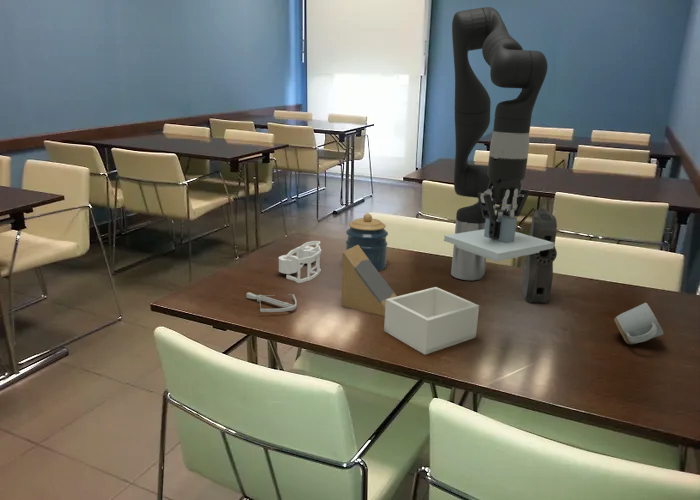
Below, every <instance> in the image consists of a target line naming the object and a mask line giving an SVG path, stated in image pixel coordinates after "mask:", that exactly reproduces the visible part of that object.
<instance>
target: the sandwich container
mask: <svg viewBox="0 0 700 500" xmlns="http://www.w3.org/2000/svg"><path fill="white" fill-rule="evenodd" d="M341 260H342V261H341V262H342V263H341V266H342V268H341V270H342V271H341V299H340V301H341V302H340V303H341V305H340V306H341V307H343V308H347V309H351V310H357V311H361V312H365V313H370V314H374V315H378V316H382V317H385V306H386V299H389V298H393V297H397V294H396V293H395V292H394V290H393V289H392V287H390V285H389V284H388V282H387V281H386V280H385V278H383V276H382V275H381V273H380V271H377V269H376V268H375V267H374V265H373V264H372V263H371V261H370V260H369V259H368V257H367V256H366V255H365V253H364V252H363V250H362V249H361V248H360V246H359V245H356V246H354V247H352V248H350V249H348V250H346V249H345V250H344V251H342V259H341Z"/></svg>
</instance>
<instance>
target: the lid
mask: <svg viewBox="0 0 700 500" xmlns="http://www.w3.org/2000/svg"><path fill="white" fill-rule="evenodd" d="M496 214H497V212H495V215H496ZM517 220H518V219H517V218H516V217H510V216H506V215H502V218H501V221H500V222H501V226H500V234H499V239H492V238H490V237H489V225H490V220H489V219H487V218H486V222H485V229H482V230H476V231H470V232H463V233H457V234H455V233H451V234H445V235H444V238H443V241H444V242H447V243H449V244H451V245H453V246H454V245H456V247H457V248H460V249H462V250H465V251H468V252H471V253H474V254H477V255H480V256H482V257H485V258H486V259H488V260H491V261H493V262H500V261H505V260H506V261H507V260H511V259H514V258H519V257H524V256H525V257H526V255H530V254H535V253H539V251H542V250H547V249H552V248H554V243H553V242H550V241H546V240H543V239H539V238H536V237H532V236H529V235H530V234H529V235H528V234H525V233H521V232H519V231H516V228H517Z"/></svg>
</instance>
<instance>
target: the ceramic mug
mask: <svg viewBox="0 0 700 500" xmlns="http://www.w3.org/2000/svg"><path fill="white" fill-rule="evenodd" d="M613 321H614V323H615V324H616V327H617V328H618V331H619V332H620V334H621V336H622V338H623V340H624V342H625V343H626V344H627V345H636V344H638V343H644V342H647V341H649V340H651V339H654V338H657V337H660V336H662V335H664V331H663V328H662V327H661V325H660V323H659V322H658V319H657V317H656V316H655V314H654V312H653V311H652V309H651V307H650V305H649V304H648V303H647V302H643V303H642V304H639V305H638V306H634V307H633V308H631V309H628V310H626V311H624V312H622V313H620V314H618V315H617V316H615V317H614V320H613Z"/></svg>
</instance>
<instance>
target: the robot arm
mask: <svg viewBox="0 0 700 500" xmlns="http://www.w3.org/2000/svg"><path fill="white" fill-rule="evenodd" d="M451 30H452V31H451V37H452V50H453V51H452V52H453V53H452V54H453V64H454V67H453V68H454V127H455V128H454V131H455V132H454V133H455V157H454V171H453V172H454V174H453V188H454V192H455V194H456V195H457V196H460V197H461V196H462V197H468V198H475V199H476V198H477V199H478V200H477V202H476V203H474V204H472V205H469V206H464V207H461V208H458V209H457V210H456V217H455V228H454V234H457V233H463V232H470V231H476V230H482V229H485V222H486V218H487V219H489V220H490V225H489V237H490V238H492V239H499V234H500V226H501V222H500V221H501V218H502V215H506V216H510V217H514V218H516V217H519V216H520V214H521V213H522V211H523V208H524V207H525V204H526V202H527V200H528V196H529V195H530V190H529V189H524V188H523V187H522V182H521V181H523V180H524V179H525V178H526V173H527V165H528V158H529V151H530V150H529V149H530V131H531V123H532V117H533V116H532V115H533V111H534V107H535V104H536V102H537V99H538V96H539V94H540V91H541V88H542V86H543V84H544V81H545V79H546V77H547V74H548V69H549V68H548V59H547V57H546V55H545V54H544V53H543V52H542V51H540V50H539V51H538V50H525V49H524V48H523V47H522V45H521V44H520V43H519V42H518V41H517V40H516V39H515V38H514V37H513V36H511V35H510V33H509V31H508V28H507V26H506V25H505V22H504V21H503V19H502V16H501V14H500V13H499V11H498V10H497V9H495V8H494V7H490V6H485V7H478V8H477V7H476V8H471V9H465V10H459V11H456V12H455V14H454V15H453V18H452V22H451ZM475 50H481V53H482V57H483V59H484V61H485V63H487V65H488V66H489V68H490V70H489V71H490V72H489V73H490V74H489V76H490V80H491V83H492V84H493V85H495V86H496V87H498V88H504V89H521V91H520V93H518V96H517V97H516V98H514V99H509V100H502V101H500V102H498V103H497V104H496V106H495V110H494V111H495V112H494V120H493V130H492V136H491V140H490V144H489V157H488V164H487V165H481V164H480V165H479V164H469V162H468V160H469V156H470V155H471V153H472V151H473V149H474V148H475V146H476V145H477V144H478V143H479V141H480V140H481V138H482V137H483V136H484V135H485V133H486V132H487V130H488V129H489V126H490V123H491V105H492V104H491V97H490V95H489V93H488V91H487V89H486V88H485V86H484V85H483V84H482V82H481V81H480V80H479V78H478V76H477V75H476V74H475V72H474V70H473V68H472V66H471V64H470V61H469V54H468V53H469V51H475ZM495 213H497V214H496V215H495ZM486 263H487V258H485V257H482V256H480V255H477V254H474V253H471V252H468V251H465V250H462V249H460V248H457V247H456V245H454V244H453V250H452V260H451V271H450V275H451V276H452V277H454V278H455V279H459V280H462V281H463V280H464V281H478V280H481V279H482V278H483V277H484V276H485V272H486Z"/></svg>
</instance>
